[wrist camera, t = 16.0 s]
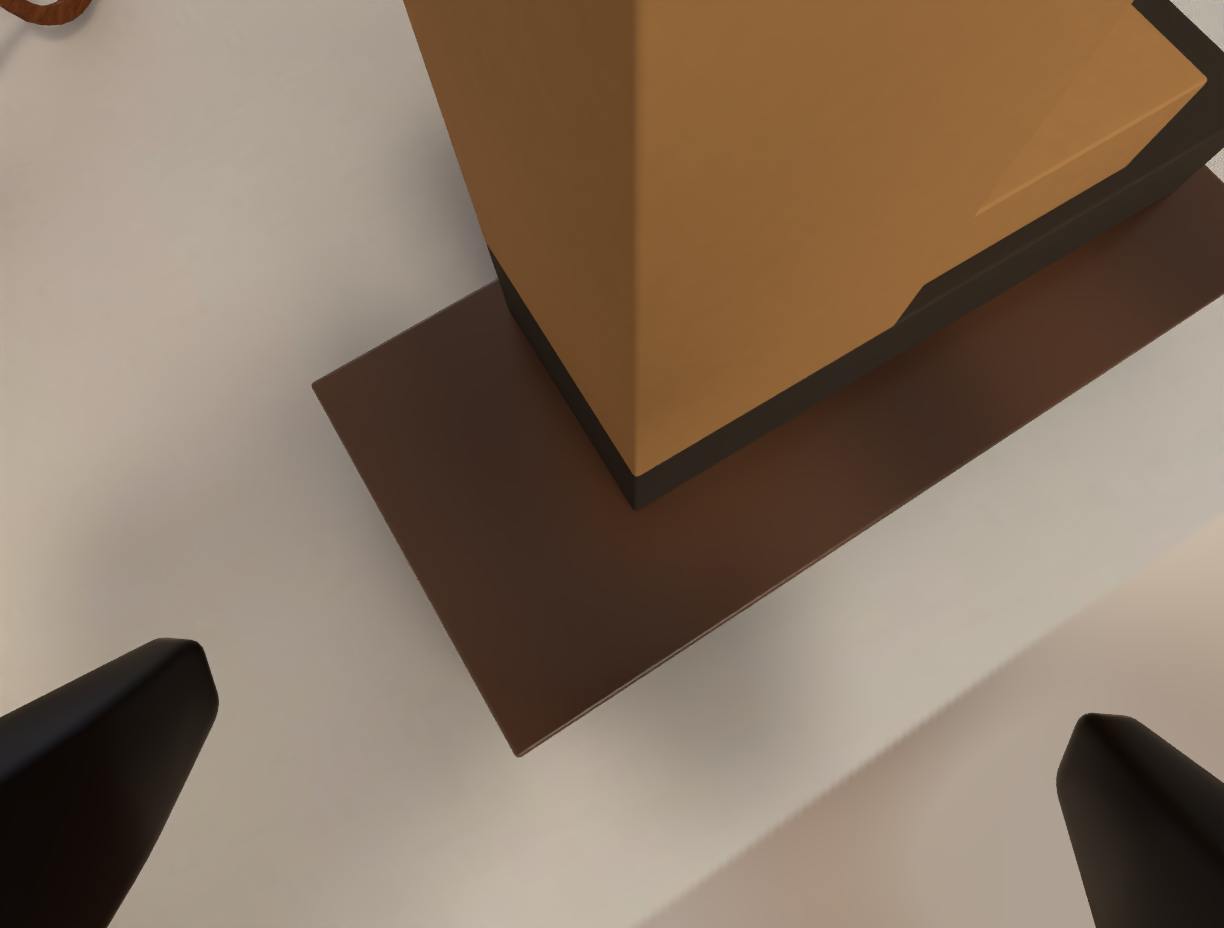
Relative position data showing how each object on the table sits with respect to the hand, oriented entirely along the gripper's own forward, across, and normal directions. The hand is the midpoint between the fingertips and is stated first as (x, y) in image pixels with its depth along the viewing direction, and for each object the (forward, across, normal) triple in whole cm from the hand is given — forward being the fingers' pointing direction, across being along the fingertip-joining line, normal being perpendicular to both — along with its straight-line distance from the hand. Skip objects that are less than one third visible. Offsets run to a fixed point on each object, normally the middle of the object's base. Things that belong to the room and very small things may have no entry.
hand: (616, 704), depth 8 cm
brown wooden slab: (+15, -3, +2) cm, 16 cm away
